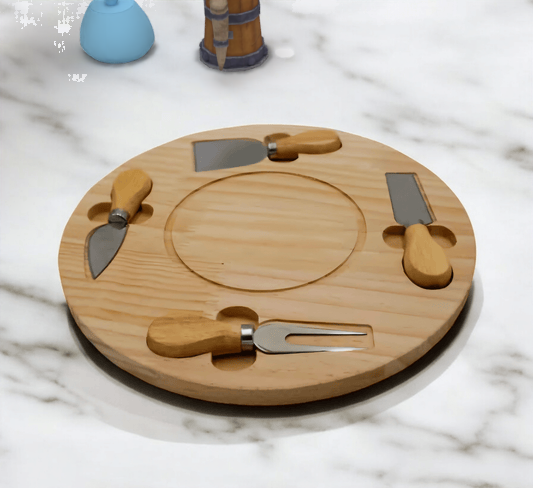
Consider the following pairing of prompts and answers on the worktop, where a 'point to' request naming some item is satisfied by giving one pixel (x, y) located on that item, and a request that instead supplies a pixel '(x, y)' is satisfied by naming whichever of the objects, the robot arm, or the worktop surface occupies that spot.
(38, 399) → the worktop surface
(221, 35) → the mug
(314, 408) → the worktop surface
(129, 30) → the sugar bowl
